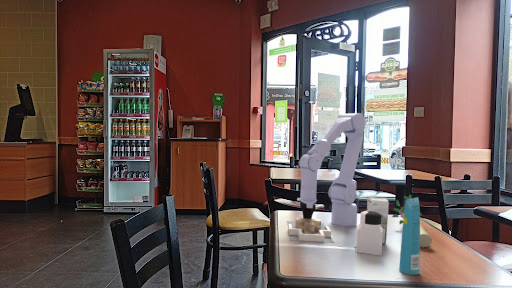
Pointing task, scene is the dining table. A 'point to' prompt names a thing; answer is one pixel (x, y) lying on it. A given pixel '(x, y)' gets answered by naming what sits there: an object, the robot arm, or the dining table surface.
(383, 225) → the syrup box
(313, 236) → the dock
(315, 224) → the t block
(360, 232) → the medicine bottle
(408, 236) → the tube
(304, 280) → the dining table surface
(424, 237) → the flower vase
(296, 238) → the board
